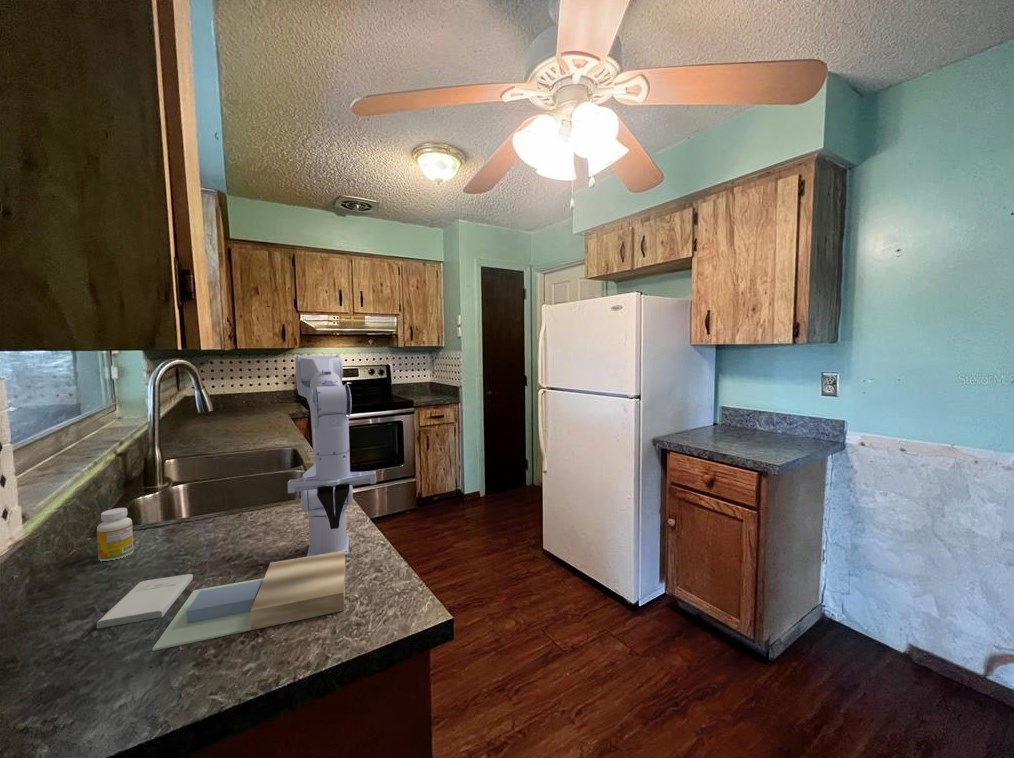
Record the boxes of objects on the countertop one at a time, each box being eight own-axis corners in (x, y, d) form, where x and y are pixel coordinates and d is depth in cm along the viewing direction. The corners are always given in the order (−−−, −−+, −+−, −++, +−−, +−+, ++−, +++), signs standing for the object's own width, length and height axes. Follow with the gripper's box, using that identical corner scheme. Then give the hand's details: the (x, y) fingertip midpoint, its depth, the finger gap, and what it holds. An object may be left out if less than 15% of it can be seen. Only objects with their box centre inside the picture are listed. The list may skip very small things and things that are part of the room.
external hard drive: (96, 631, 62) (139, 589, 74) (162, 620, 65) (193, 581, 77) (96, 621, 62) (139, 580, 74) (161, 610, 65) (193, 572, 77)
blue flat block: (200, 602, 68) (200, 591, 68) (262, 591, 71) (262, 580, 71) (187, 624, 63) (186, 611, 62) (254, 610, 66) (254, 598, 66)
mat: (193, 591, 72) (193, 590, 72) (271, 578, 76) (270, 576, 76) (152, 651, 57) (152, 649, 57) (251, 630, 61) (251, 628, 61)
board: (271, 578, 76) (270, 562, 76) (345, 565, 81) (345, 550, 81) (251, 630, 61) (250, 610, 61) (344, 610, 66) (343, 592, 66)
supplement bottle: (99, 556, 86) (97, 510, 86) (133, 548, 90) (131, 504, 90) (97, 565, 82) (94, 517, 82) (133, 556, 86) (131, 511, 86)
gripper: (283, 460, 67) (286, 542, 68) (375, 452, 72) (378, 528, 73) (289, 453, 74) (292, 527, 74) (373, 446, 79) (376, 515, 79)
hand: (335, 526), depth 74 cm, fingers closed
